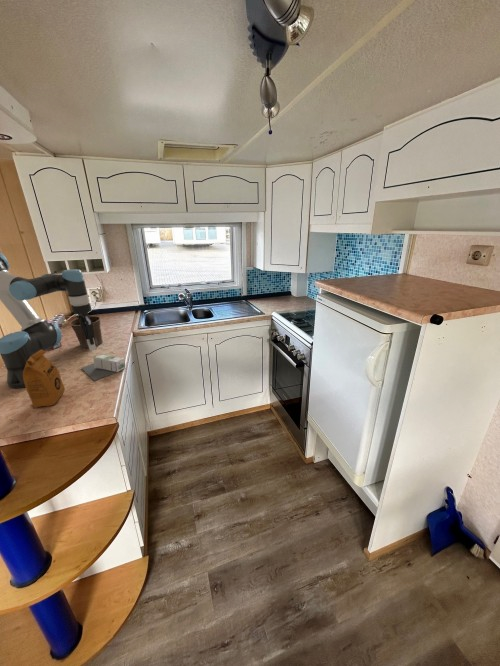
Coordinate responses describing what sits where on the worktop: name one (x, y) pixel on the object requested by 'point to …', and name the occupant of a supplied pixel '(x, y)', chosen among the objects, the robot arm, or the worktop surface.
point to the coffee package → (42, 380)
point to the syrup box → (109, 362)
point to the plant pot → (80, 335)
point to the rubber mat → (96, 372)
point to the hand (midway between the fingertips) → (93, 349)
